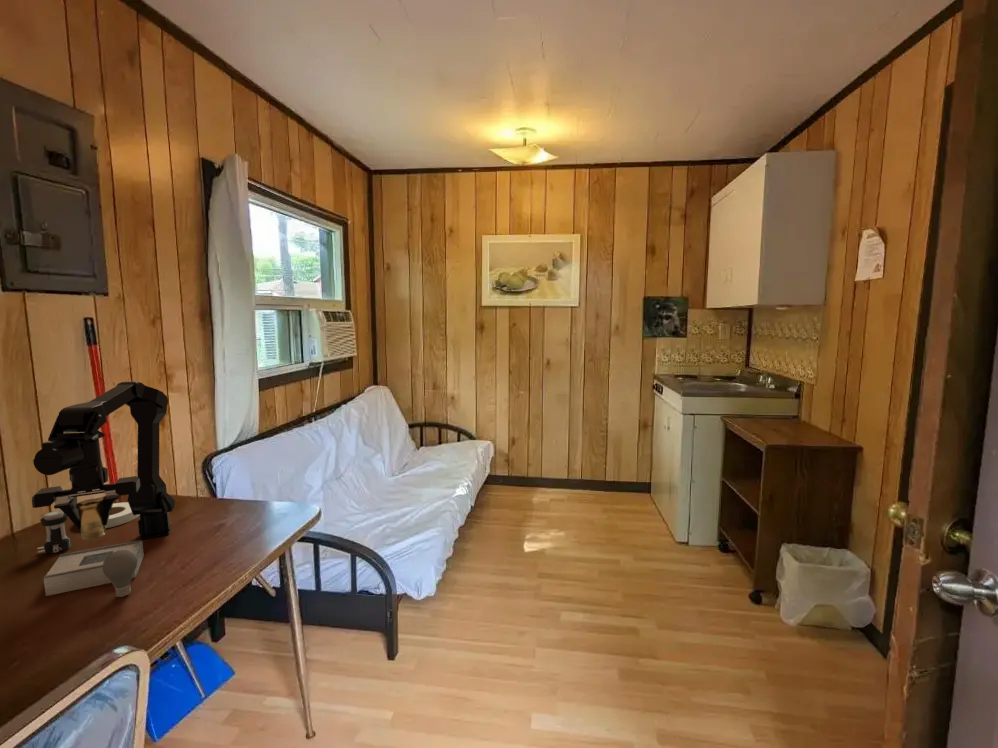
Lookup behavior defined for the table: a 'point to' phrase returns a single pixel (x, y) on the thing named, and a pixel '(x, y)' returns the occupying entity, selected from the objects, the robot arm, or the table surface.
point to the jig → (86, 568)
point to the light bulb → (120, 570)
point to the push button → (55, 532)
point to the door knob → (91, 518)
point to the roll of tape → (120, 514)
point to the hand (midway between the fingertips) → (93, 527)
